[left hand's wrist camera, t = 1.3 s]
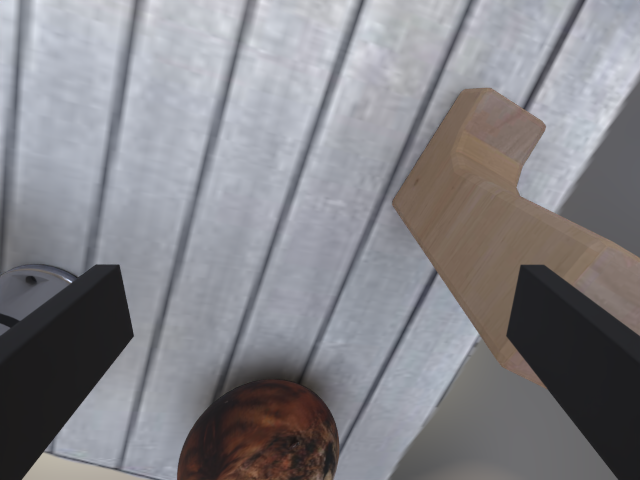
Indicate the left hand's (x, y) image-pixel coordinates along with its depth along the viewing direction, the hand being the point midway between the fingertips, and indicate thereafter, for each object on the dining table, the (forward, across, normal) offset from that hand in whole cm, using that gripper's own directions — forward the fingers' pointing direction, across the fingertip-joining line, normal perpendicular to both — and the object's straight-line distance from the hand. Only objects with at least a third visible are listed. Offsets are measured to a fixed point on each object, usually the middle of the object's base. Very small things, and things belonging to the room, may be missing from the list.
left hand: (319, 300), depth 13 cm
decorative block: (+34, -15, +1) cm, 37 cm away
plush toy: (+34, +8, +37) cm, 51 cm away
